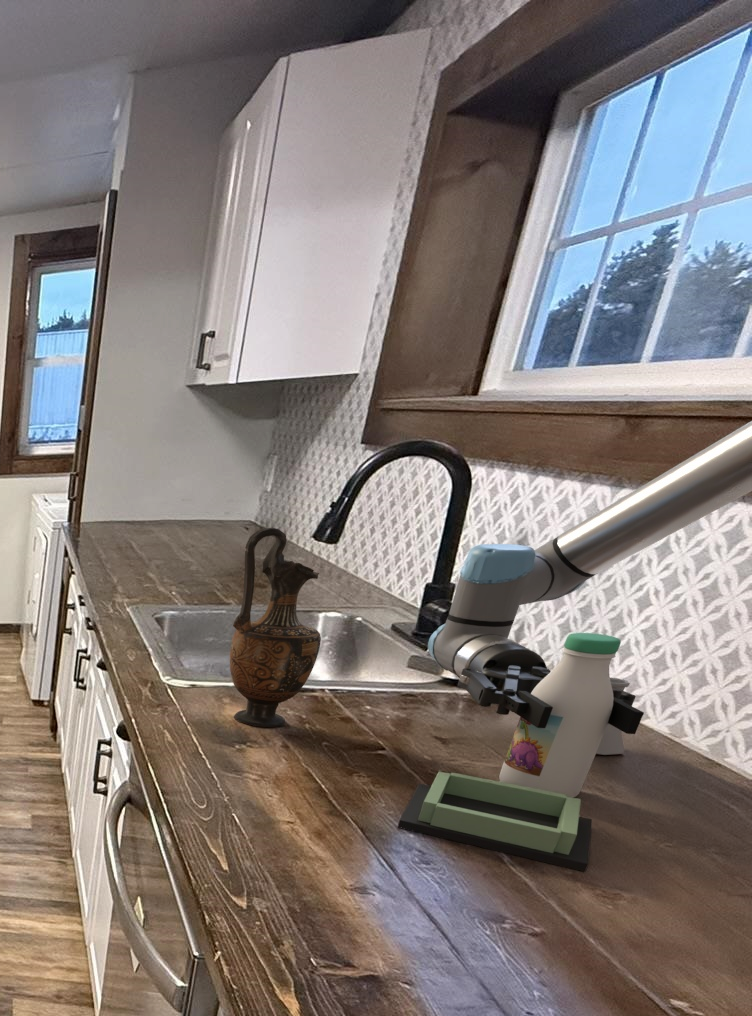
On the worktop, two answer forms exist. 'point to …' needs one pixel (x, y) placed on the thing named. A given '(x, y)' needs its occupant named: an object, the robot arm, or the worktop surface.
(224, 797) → the worktop surface
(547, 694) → the milk bottle
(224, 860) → the worktop surface
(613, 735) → the flask
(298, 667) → the vase
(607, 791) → the worktop surface
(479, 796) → the docking pad
